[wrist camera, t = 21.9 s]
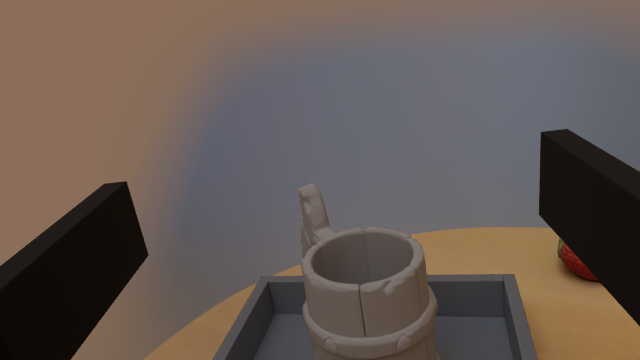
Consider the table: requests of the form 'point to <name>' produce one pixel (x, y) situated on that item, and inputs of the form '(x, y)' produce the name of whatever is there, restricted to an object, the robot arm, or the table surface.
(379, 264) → the mug
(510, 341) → the tray
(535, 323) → the table surface
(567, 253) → the fruit
